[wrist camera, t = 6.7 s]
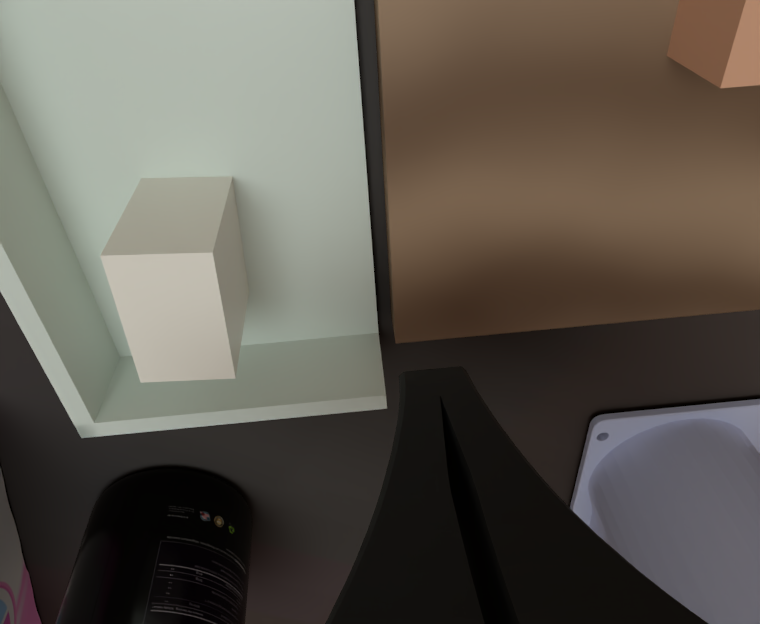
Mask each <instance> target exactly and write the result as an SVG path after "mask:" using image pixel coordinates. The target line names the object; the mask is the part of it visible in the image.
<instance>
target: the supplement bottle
mask: <svg viewBox="0 0 760 624" xmlns="http://www.w3.org/2000/svg"><path fill="white" fill-rule="evenodd" d="M251 537H252V515H251V511H250V508H249V506H248V504H247V502H246V500H245V499H244V498H243V496H242V495H241V494H240V493H239V492H238V491H237V490H236V489H235V488H234V487H232V486H231V485H229V484H228V483H226V482H225V481H223V480H221V479H219V478H217V477H214V476H212V475H209V474H206V473H203V472H199V471H194V470H188V469H178V468H162V469H152V470H147V471H142V472H138V473H135V474H132V475H130V476H127V477H125V478H123V479H121V480H119V481H117V482H116V483H114V484H113V485H111V486H110V487H109V488H108V489H107V490H105V491H104V492H103V494H102V495H101V496H100V497H99V499H98V500H97V502H96V504H95V506H94V508H93V510H92V513H91V516H90V519H89V522H88V525H87V528H86V530H85V533H84V536H83V539H82V542H81V546H80V549H79V552H78V555H77V558H76V561H75V564H74V567H73V570H72V573H71V576H70V580H69V583H68V586H67V589H66V592H65V595H64V598H63V601H62V604H61V607H60V610H59V614H58V617H57V620H56V623H55V624H245V616H246V603H247V591H248V578H249V566H250V553H251Z"/></svg>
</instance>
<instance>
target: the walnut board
mask: <svg viewBox="0 0 760 624" xmlns="http://www.w3.org/2000/svg"><path fill="white" fill-rule="evenodd" d="M678 4H679V0H374V9H375V28H376V46H377V64H378V82H379V101H380V119H381V137H382V155H383V174H384V192H385V210H386V228H387V247H388V265H389V283H390V301H391V317H392V323H393V330H394V337H395V343H407V342H417V341H428V340H439V339H449V338H460V337H471V336H481V335H492V334H503V333H513V332H524V331H535V330H545V329H556V328H567V327H577V326H588V325H599V324H610V323H620V322H631V321H642V320H652V319H663V318H674V317H684V316H695V315H706V314H716V313H727V312H738V311H748V310H759V309H760V85H755V86H743V87H731V88H719V87H717V86H716V85H714V84H712V83H711V82H709V81H707V80H706V79H704V78H702V77H701V76H699V75H698V74H696V73H694V72H693V71H691V70H689V69H688V68H686V67H684V66H683V65H681V64H680V63H678V62H676V61H675V60H673V59H671V58H670V57H668V56H667V52H668V48H669V43H670V39H671V35H672V30H673V26H674V21H675V17H676V13H677V8H678Z"/></svg>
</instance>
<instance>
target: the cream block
mask: <svg viewBox="0 0 760 624" xmlns="http://www.w3.org/2000/svg"><path fill="white" fill-rule="evenodd" d="M100 257H101V260H102V263H103V266H104V269H105V272H106V276H107V279H108V282H109V285H110V288H111V291H112V294H113V298H114V301H115V304H116V307H117V310H118V313H119V316H120V320H121V323H122V326H123V329H124V332H125V335H126V338H127V341H128V345H129V348H130V351H131V354H132V357H133V360H134V363H135V367H136V370H137V373H138V376H139V379H140V382H141V383H144V382H167V381H190V380H213V379H236V373H237V367H238V360H239V354H240V348H241V341H242V335H243V328H244V322H245V316H246V309H247V303H248V297H249V286H248V279H247V272H246V266H245V259H244V252H243V245H242V238H241V231H240V224H239V217H238V210H237V204H236V197H235V190H234V183H233V176H228V177H176V178H141V180H140V182H139V184H138V186H137V187H136V189H135V191H134V193H133V195H132V197H131V199H130V201H129V202H128V204H127V206H126V208H125V210H124V212H123V214H122V216H121V217H120V219H119V221H118V223H117V225H116V227H115V229H114V231H113V232H112V234H111V236H110V238H109V240H108V242H107V244H106V246H105V248H104V249H103V251H102V253H101V255H100Z"/></svg>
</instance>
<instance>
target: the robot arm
mask: <svg viewBox="0 0 760 624" xmlns="http://www.w3.org/2000/svg"><path fill="white" fill-rule="evenodd" d="M399 386H400V404H399V413H398V421H397V427H396V432H395V437H394V442H393V447H392V452H391V456H390V460H389V464H388V468H387V471H386V475H385V479H384V482H383V486H382V490H381V493H380V496H379V499H378V502H377V505H376V508H375V511H374V514H373V517H372V520H371V522H370V525H369V528H368V531H367V533H366V536H365V538H364V541H363V543H362V546H361V548H360V551H359V553H358V556H357V558H356V560H355V563H354V565H353V567H352V570H351V572H350V574H349V576H348V579H347V581H346V583H345V585H344V587H343V589H342V591H341V593H340V595H339V597H338V599H337V601H336V603H335V605H334V607H333V609H332V612H331V614H330V616H329V618H328V620H327V621H326V623H325V624H760V399H753V400H742V401H732V402H722V403H712V404H702V405H691V406H681V407H671V408H661V409H651V410H640V411H630V412H620V413H610V414H602V415H598V416H596V417H595V418H593V419H592V421H591V422H590V425H589V430H588V434H587V438H586V442H585V446H584V450H583V454H582V459H581V463H580V467H579V471H578V475H577V479H576V483H575V488H574V492H573V496H572V500H571V504H570V508H569V507H568V505H567V504H566V503H565V502H564V501H563V500H562V499H561V498H560V497H559V496H558V495H557V494H556V493H555V492H554V491H553V490H552V489H551V488H550V486H549V485H548V484H547V483H546V482H545V481H544V480H543V479H542V477H541V476H540V475H539V474H538V473H537V472H536V470H535V469H534V468H533V467H532V466H531V464H530V463H529V462H528V461H527V460H526V458H525V457H524V456H523V455H522V453H521V452H520V451H519V450H518V448H517V447H516V446H515V444H514V443H513V442H512V440H511V439H510V438H509V436H508V435H507V434H506V432H505V431H504V430H503V428H502V427H501V426H500V424H499V423H498V421H497V420H496V419H495V417H494V416H493V414H492V413H491V411H490V410H489V408H488V407H487V405H486V404H485V402H484V401H483V399H482V398H481V396H480V394H479V393H478V391H477V389H476V388H475V386H474V384H473V383H472V381H471V379H470V377H469V375H468V373H467V371H466V370H465V369H464V368H462V367H461V366H460V367H450V368H439V369H428V370H417V371H407V372H403V373H402V374H401V375H400V376H399Z"/></svg>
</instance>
